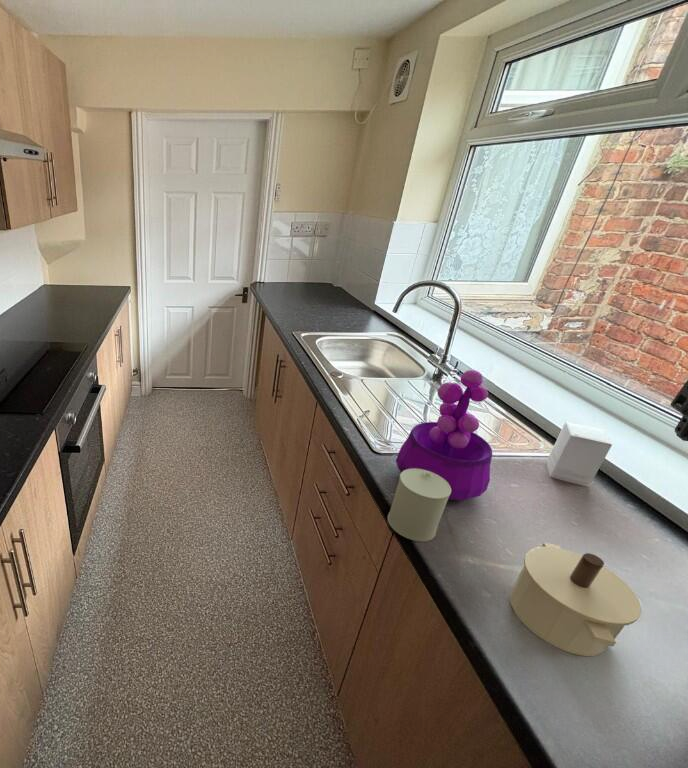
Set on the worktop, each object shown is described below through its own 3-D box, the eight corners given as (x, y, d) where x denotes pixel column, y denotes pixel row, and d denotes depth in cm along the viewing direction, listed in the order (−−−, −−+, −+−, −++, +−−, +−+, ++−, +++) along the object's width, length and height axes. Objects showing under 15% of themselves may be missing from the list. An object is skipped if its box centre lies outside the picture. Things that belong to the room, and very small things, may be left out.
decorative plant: (391, 495, 96) (425, 380, 83) (393, 452, 111) (421, 348, 98) (488, 521, 89) (542, 399, 75) (476, 471, 104) (519, 361, 90)
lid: (607, 563, 70) (624, 537, 67) (660, 641, 58) (684, 613, 55) (510, 542, 74) (522, 517, 71) (541, 611, 62) (558, 584, 59)
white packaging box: (588, 489, 97) (613, 445, 92) (548, 478, 101) (570, 435, 95) (582, 472, 103) (605, 429, 97) (544, 462, 106) (564, 420, 101)
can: (437, 520, 89) (454, 476, 84) (433, 548, 83) (450, 503, 77) (391, 503, 94) (404, 460, 89) (383, 529, 87) (396, 485, 82)
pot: (576, 583, 75) (597, 550, 71) (635, 686, 60) (666, 651, 56) (495, 564, 79) (511, 532, 75) (531, 657, 64) (553, 622, 60)
